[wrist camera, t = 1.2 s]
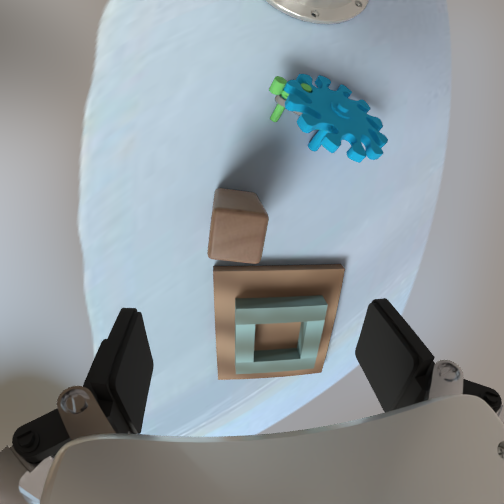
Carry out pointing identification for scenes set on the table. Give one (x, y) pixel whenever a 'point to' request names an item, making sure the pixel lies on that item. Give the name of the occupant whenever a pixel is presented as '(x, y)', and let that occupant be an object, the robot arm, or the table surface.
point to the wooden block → (237, 227)
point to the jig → (274, 318)
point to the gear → (329, 116)
